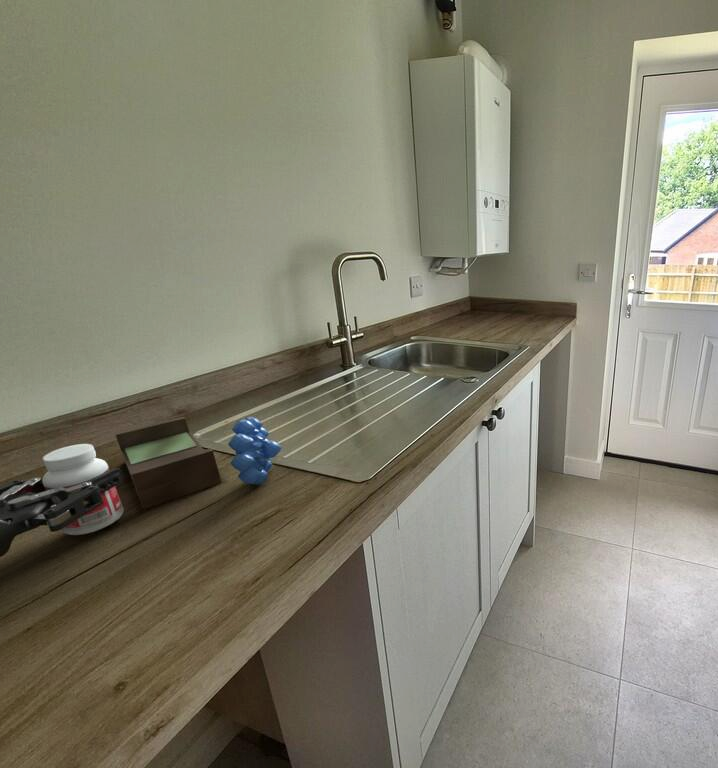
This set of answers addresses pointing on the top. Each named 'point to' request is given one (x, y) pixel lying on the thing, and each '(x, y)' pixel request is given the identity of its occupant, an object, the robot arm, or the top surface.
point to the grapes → (252, 450)
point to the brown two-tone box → (166, 461)
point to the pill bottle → (75, 469)
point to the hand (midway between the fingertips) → (98, 472)
